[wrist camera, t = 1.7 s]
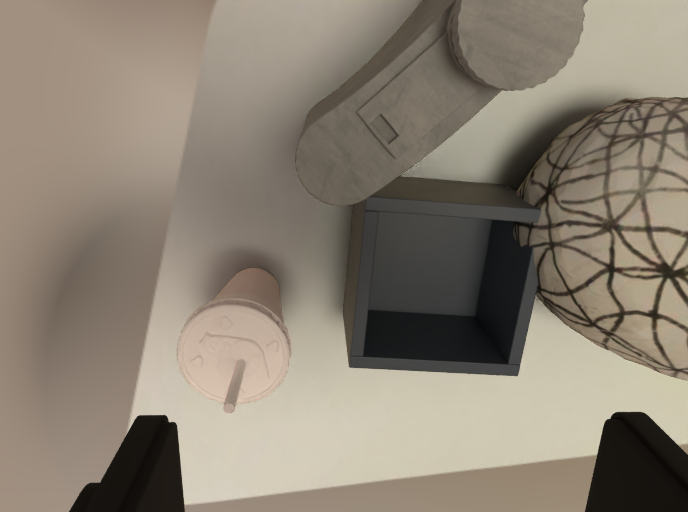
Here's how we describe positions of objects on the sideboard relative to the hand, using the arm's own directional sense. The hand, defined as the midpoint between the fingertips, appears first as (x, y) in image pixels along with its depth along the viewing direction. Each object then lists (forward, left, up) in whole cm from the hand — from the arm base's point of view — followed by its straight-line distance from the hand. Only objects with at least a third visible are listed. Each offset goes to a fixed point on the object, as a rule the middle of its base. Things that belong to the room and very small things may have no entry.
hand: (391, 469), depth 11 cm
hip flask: (-10, +3, -26) cm, 28 cm away
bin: (+3, +6, -26) cm, 27 cm away
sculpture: (0, +20, -26) cm, 33 cm away
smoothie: (+7, -6, -26) cm, 28 cm away
